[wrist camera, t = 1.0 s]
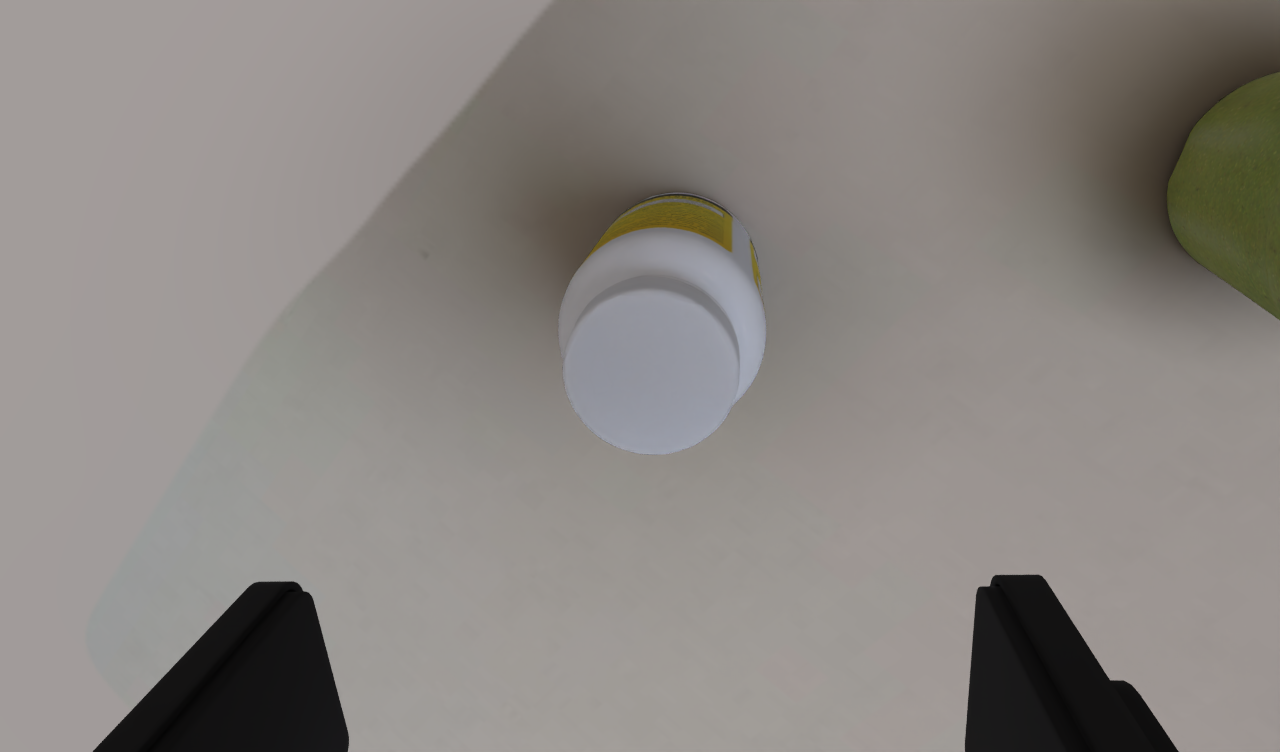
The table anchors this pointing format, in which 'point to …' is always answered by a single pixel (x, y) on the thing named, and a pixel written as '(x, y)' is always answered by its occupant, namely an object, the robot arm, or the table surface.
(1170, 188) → the plant pot
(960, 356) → the table surface
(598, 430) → the supplement bottle
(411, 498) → the table surface
